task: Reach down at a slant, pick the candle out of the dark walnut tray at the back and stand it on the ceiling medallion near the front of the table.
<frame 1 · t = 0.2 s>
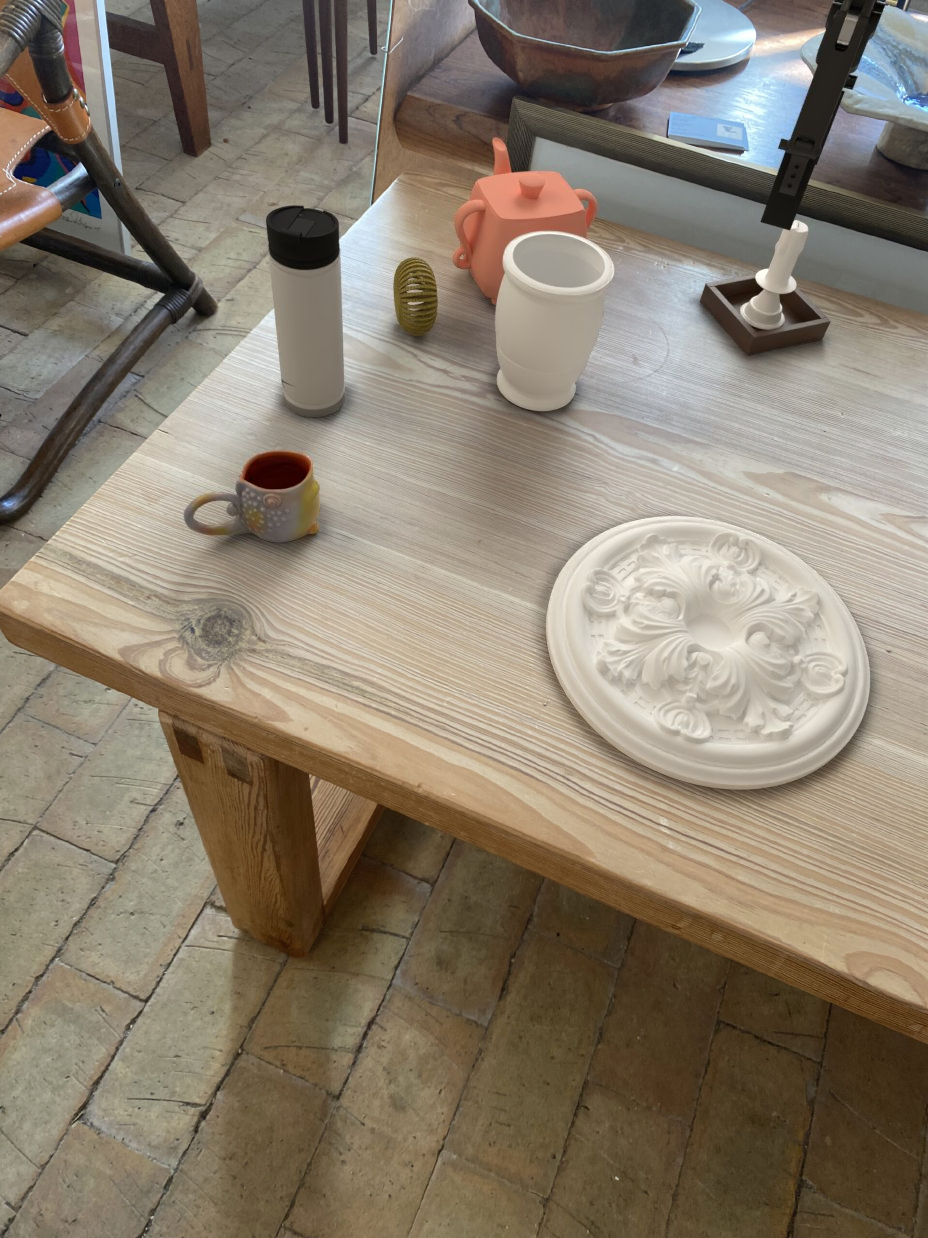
hand: (790, 190, 85), 21 cm above the table, tool pointing down, fingers open, 13 cm apart
jar: (535, 388, 97), on the table
sculpture: (413, 329, 102), on the table
candle: (761, 317, 107), resting on tray
ceiling medallion: (704, 642, 79), on the table
teapot: (516, 282, 109), on the table
tray: (760, 320, 108), on the table
mug: (256, 527, 83), on the table
travel mug: (313, 400, 94), on the table
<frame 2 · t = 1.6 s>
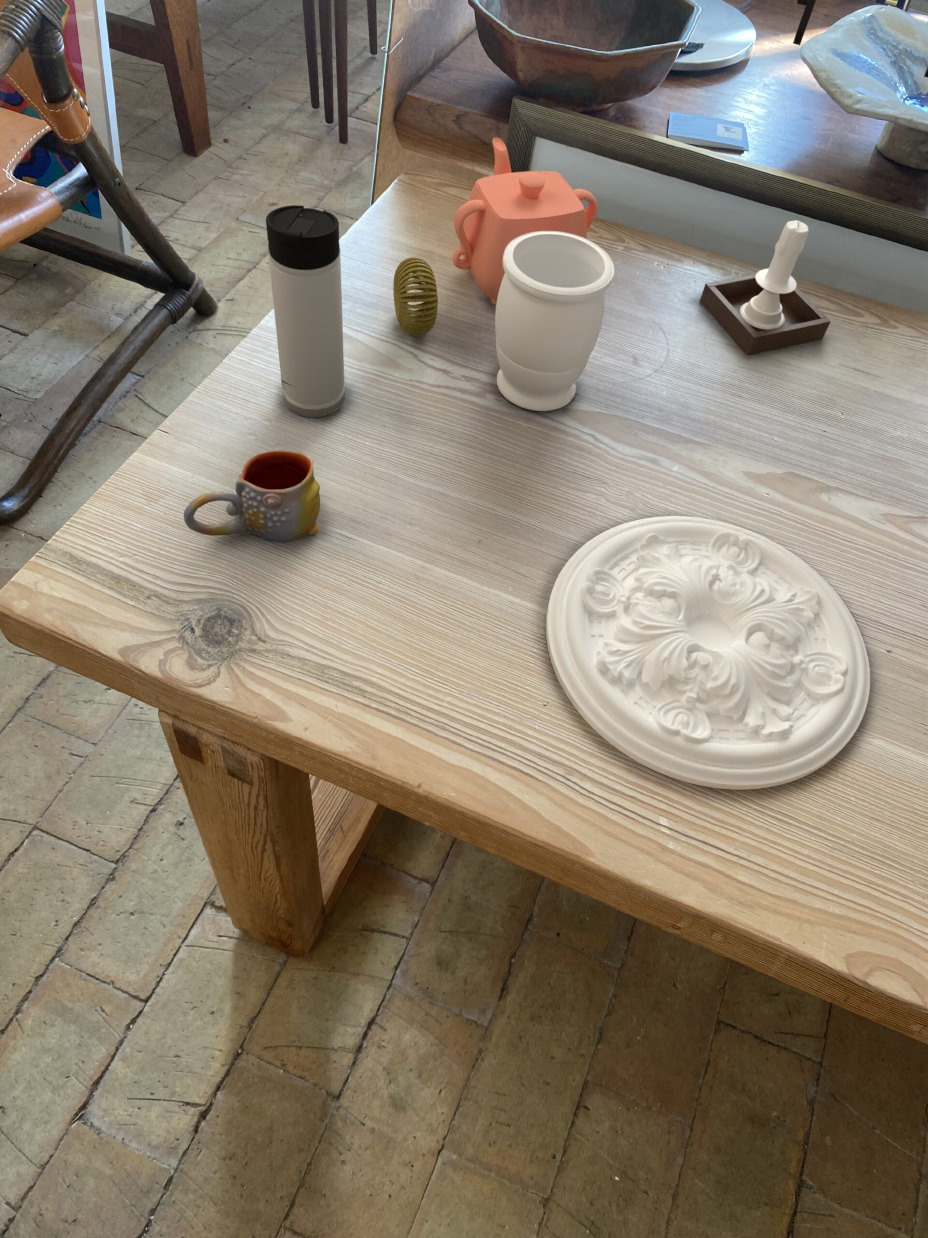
hand: (864, 54, 92), 26 cm above the table, tool tilted 45°, fingers open, 13 cm apart
nothing on the table moved.
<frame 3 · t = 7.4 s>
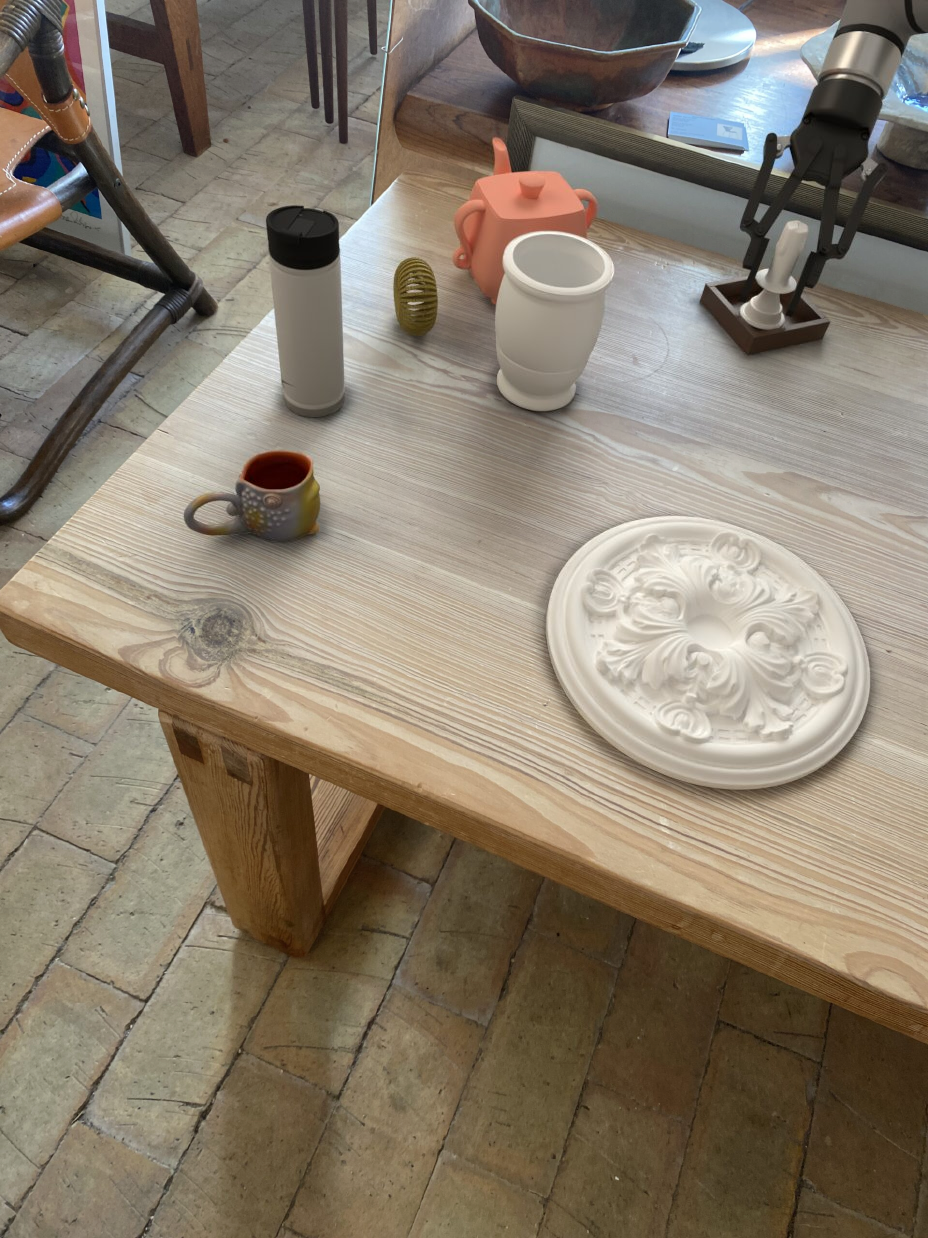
hand: (766, 305, 102), 4 cm above the table, tool tilted 45°, fingers closed on candle, 5 cm apart
candle: (761, 317, 107), resting on tray, touching gripper
everything else where it was.
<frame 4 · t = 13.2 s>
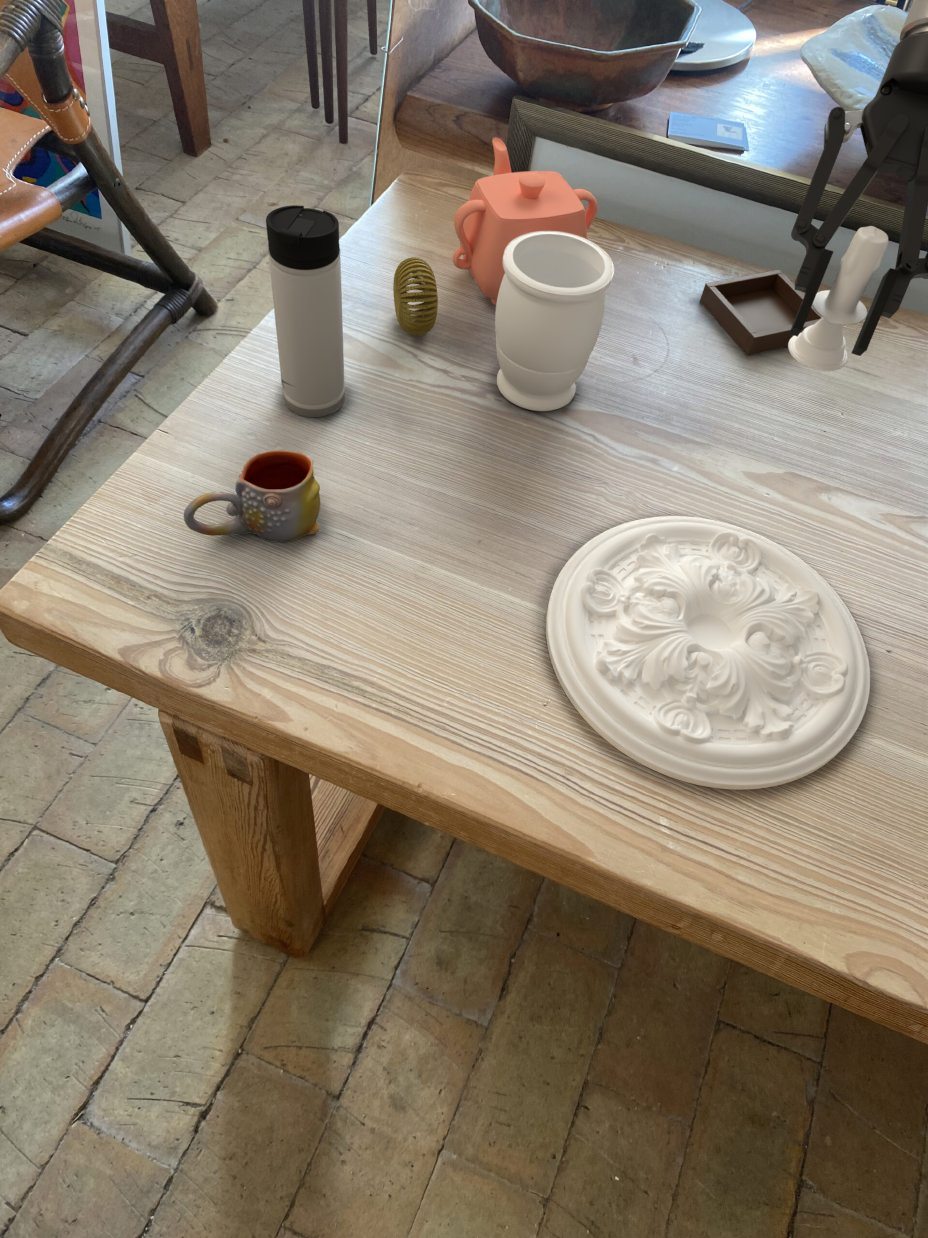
hand: (827, 341, 76), 18 cm above the table, tool tilted 45°, fingers closed on candle, 5 cm apart
candle: (816, 354, 81), point 14 cm above the table, touching gripper
everything else where it was.
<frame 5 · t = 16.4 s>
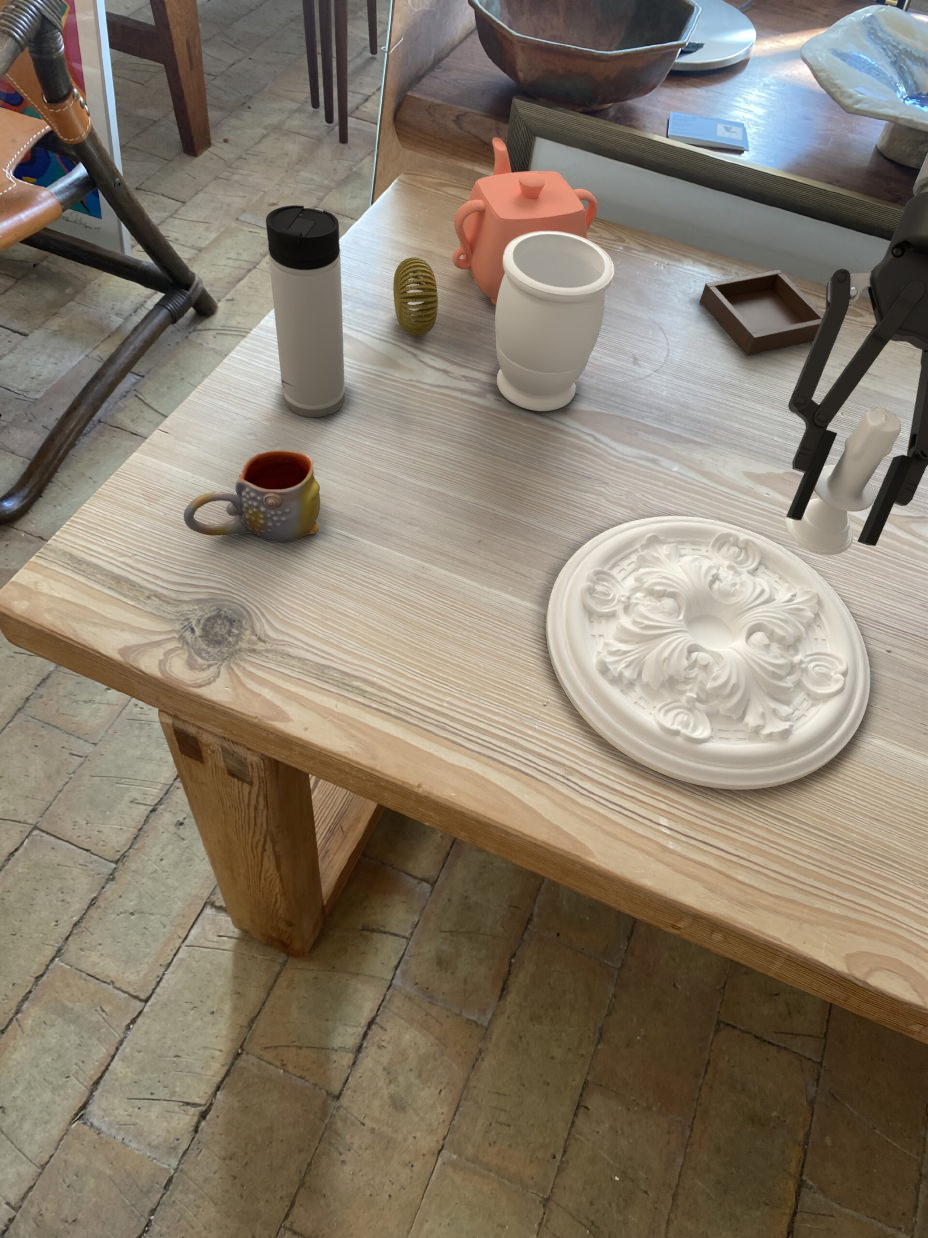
hand: (829, 530, 66), 16 cm above the table, tool tilted 45°, fingers closed on candle, 5 cm apart
candle: (817, 531, 71), point 12 cm above the table, touching gripper
everything else where it was.
when the fingers open (7 cm above the table, at t = 18.9 s): candle stays where it is, resting on ceiling medallion.
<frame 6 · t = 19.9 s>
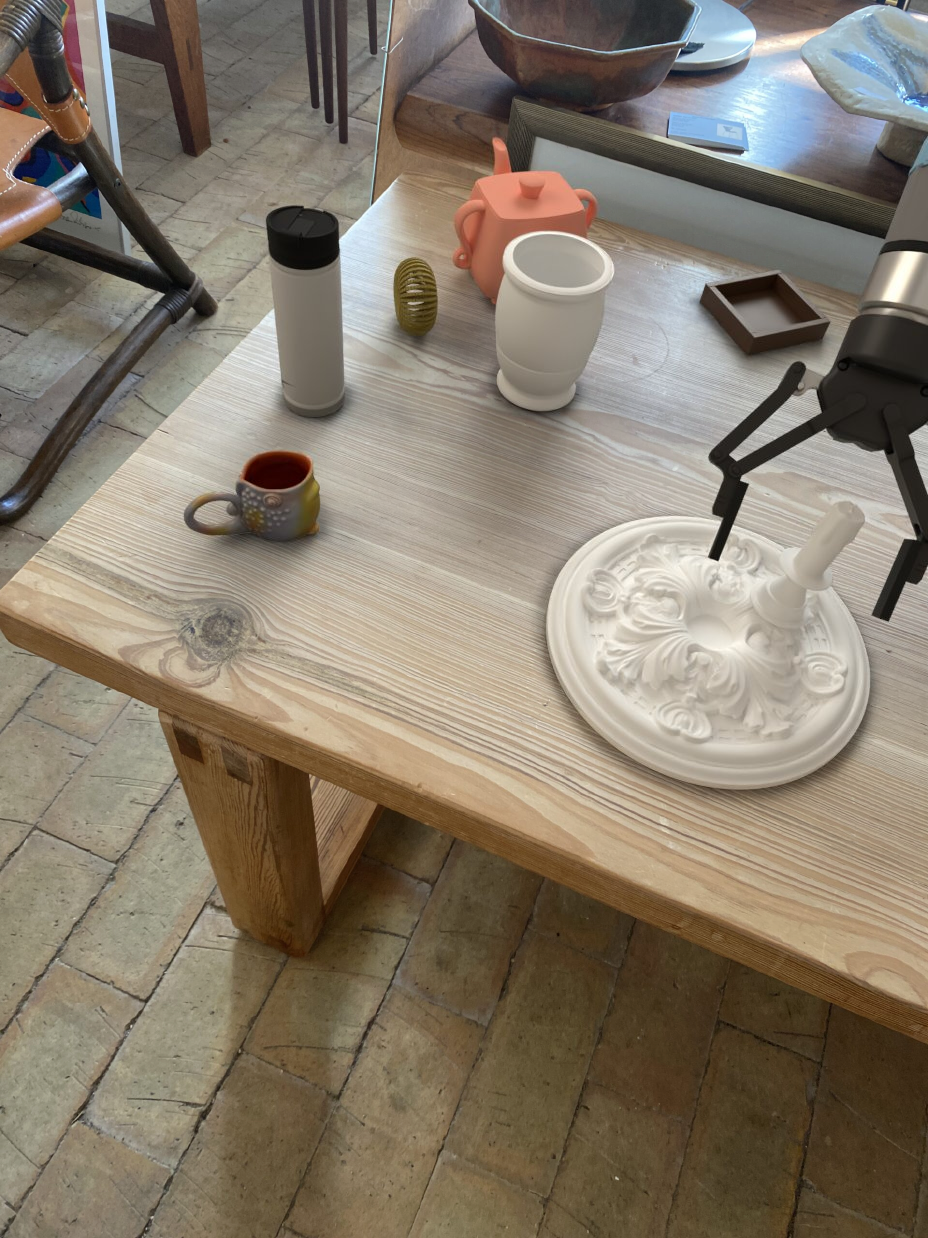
hand: (794, 589, 73), 8 cm above the table, tool tilted 45°, fingers open, 13 cm apart
candle: (776, 606, 78), point 3 cm above the table, touching ceiling medallion
ceiling medallion: (704, 642, 79), on the table, touching candle
everything else where it was.
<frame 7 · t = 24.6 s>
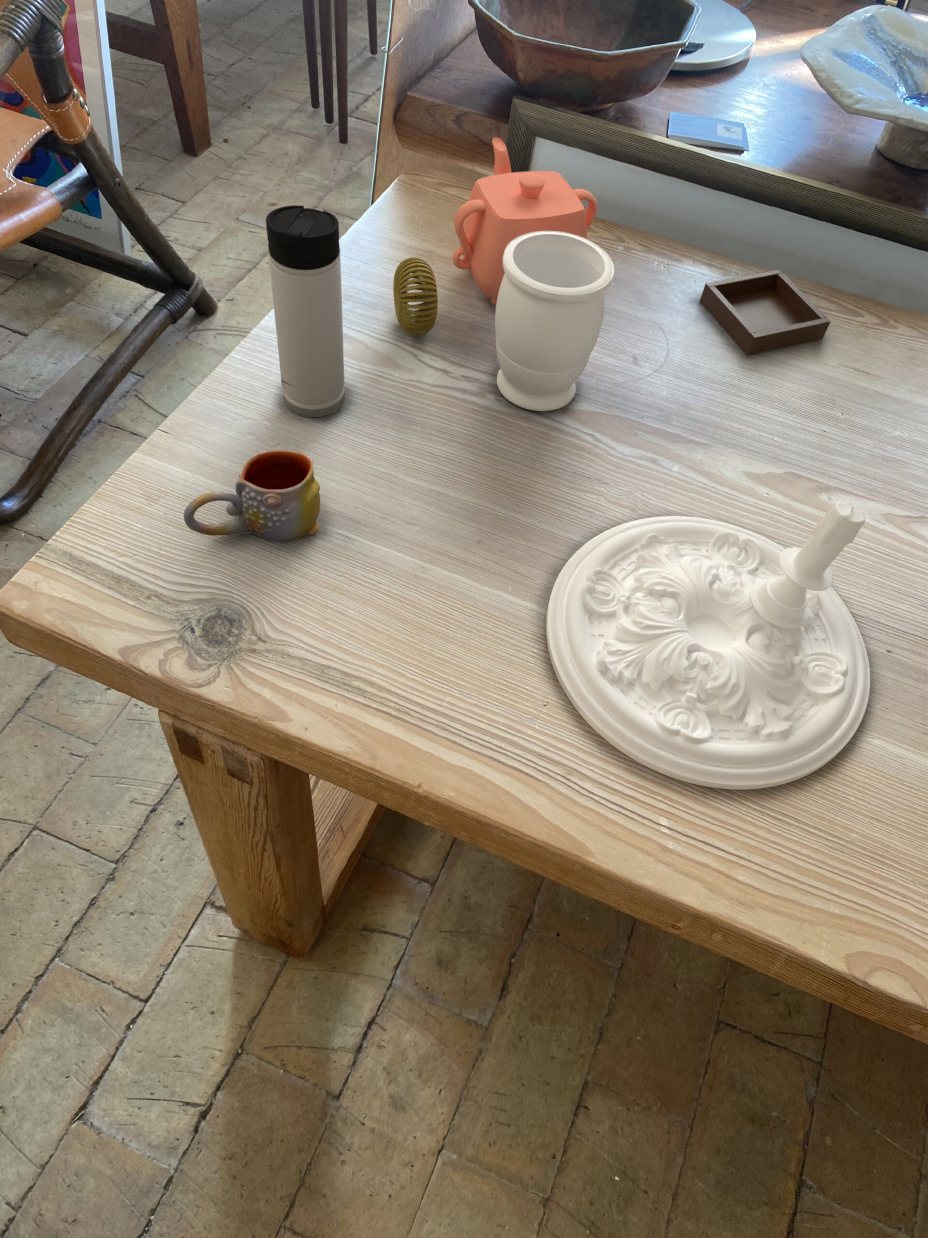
nothing on the table moved.
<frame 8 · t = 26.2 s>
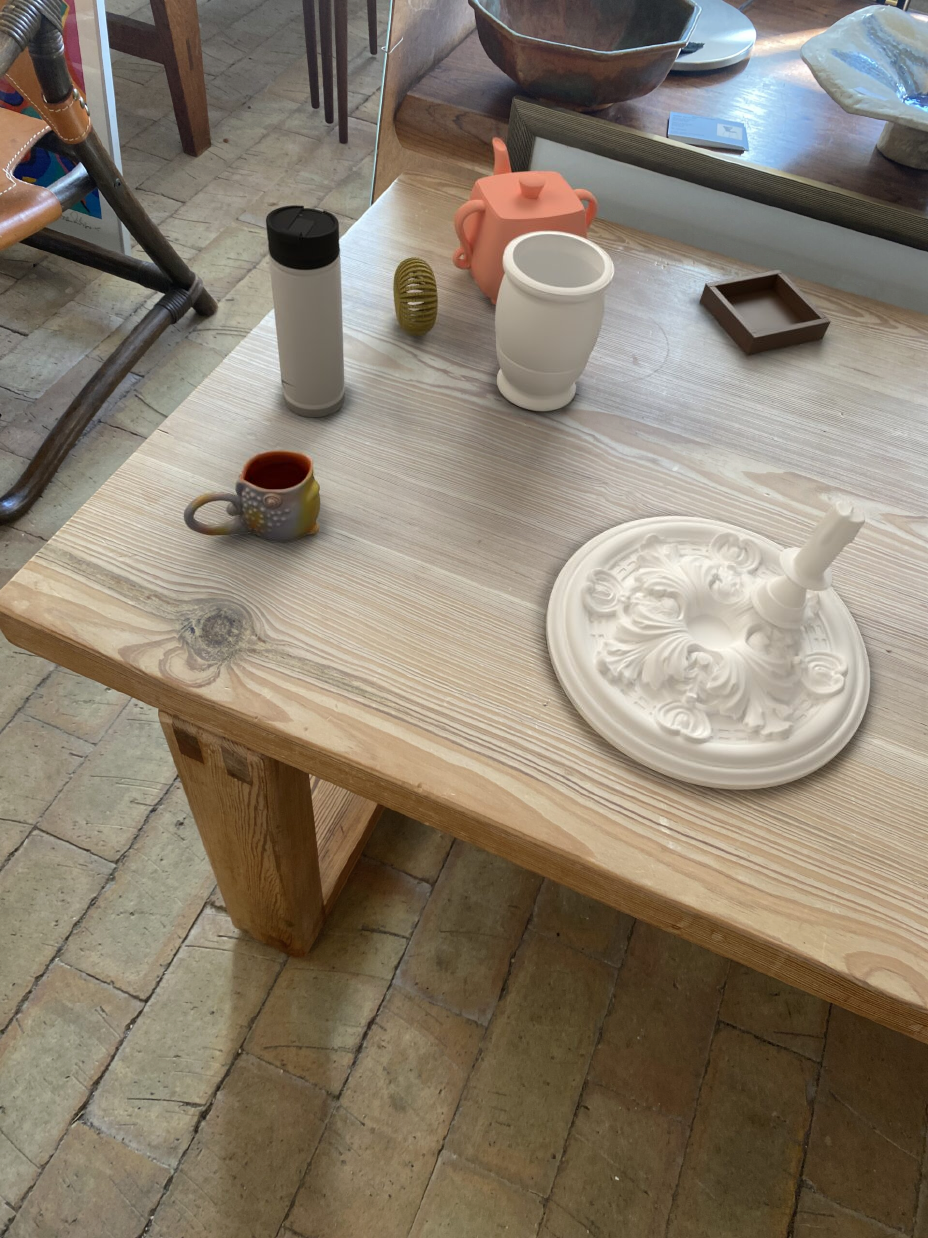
nothing on the table moved.
at the end: candle inside the target area on the ceiling medallion (6.0 cm from its centre), point 3.2 cm above the ceiling medallion's base; candle tilted 9°; the gripper is holding nothing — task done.
